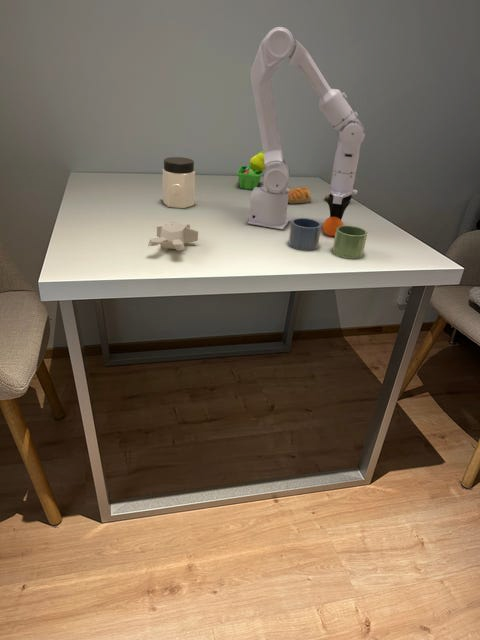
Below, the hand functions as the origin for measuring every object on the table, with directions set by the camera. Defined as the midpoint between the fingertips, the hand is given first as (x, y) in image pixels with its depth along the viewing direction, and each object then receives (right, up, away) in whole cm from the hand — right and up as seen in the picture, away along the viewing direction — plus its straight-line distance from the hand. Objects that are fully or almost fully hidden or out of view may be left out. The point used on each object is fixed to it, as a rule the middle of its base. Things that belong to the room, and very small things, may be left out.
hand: (335, 223), depth 122 cm
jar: (-43, +8, +10) cm, 44 cm away
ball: (-1, -1, -4) cm, 4 cm away
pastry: (-8, +11, +21) cm, 25 cm away
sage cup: (0, -9, -13) cm, 16 cm away
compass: (+5, +11, +24) cm, 27 cm away
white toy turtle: (-40, -9, -17) cm, 44 cm away
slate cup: (-10, -7, -10) cm, 16 cm away
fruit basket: (-21, +19, +32) cm, 43 cm away
